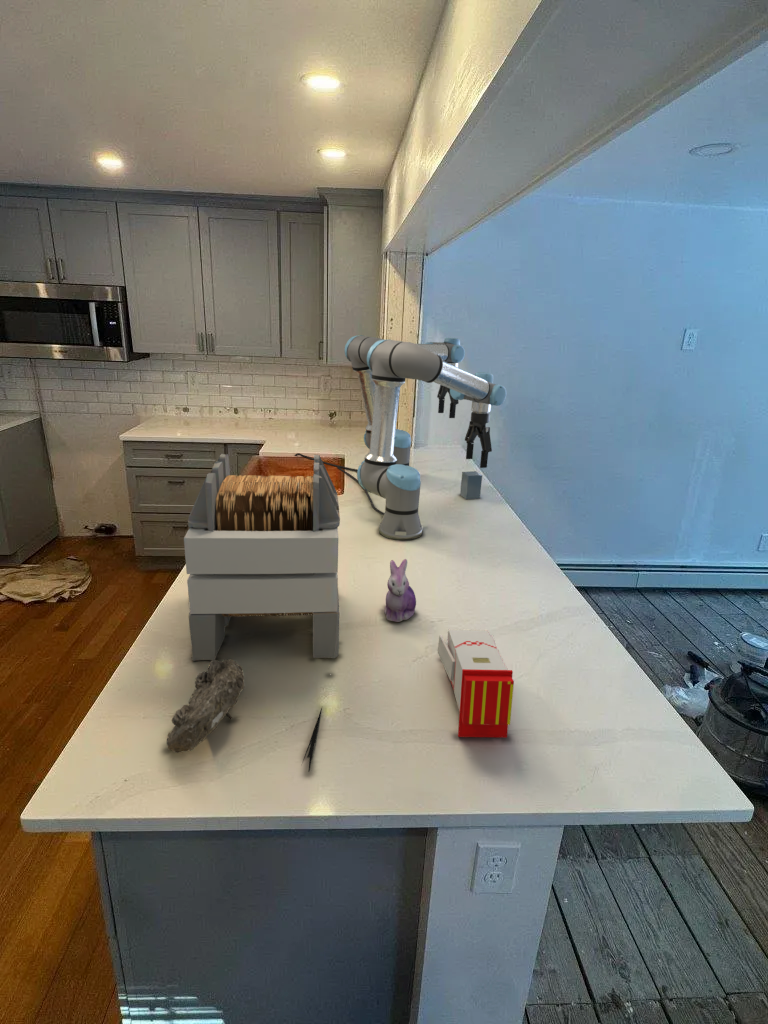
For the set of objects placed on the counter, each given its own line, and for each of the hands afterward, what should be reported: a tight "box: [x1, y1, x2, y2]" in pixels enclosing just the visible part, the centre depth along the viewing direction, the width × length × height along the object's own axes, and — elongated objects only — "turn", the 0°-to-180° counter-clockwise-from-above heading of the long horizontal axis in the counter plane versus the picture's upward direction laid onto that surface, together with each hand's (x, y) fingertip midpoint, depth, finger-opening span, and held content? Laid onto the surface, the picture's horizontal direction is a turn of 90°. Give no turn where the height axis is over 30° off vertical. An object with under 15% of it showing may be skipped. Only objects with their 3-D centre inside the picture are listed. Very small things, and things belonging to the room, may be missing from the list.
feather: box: [301, 673, 332, 771], centre depth 108 cm, size 2×28×2 cm
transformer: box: [183, 453, 341, 662], centre depth 134 cm, size 34×33×41 cm
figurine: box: [384, 558, 417, 623], centre depth 145 cm, size 9×10×15 cm
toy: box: [437, 628, 515, 738], centre depth 117 cm, size 12×13×30 cm
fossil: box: [166, 658, 245, 754], centre depth 106 cm, size 22×10×15 cm
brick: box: [459, 470, 483, 500], centre depth 242 cm, size 6×6×10 cm
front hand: (476, 463), depth 235 cm, fingers open, 13 cm apart
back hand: (446, 415), depth 280 cm, fingers open, 13 cm apart
